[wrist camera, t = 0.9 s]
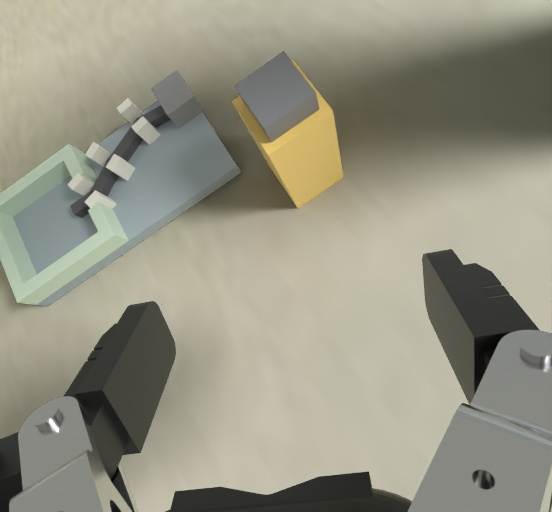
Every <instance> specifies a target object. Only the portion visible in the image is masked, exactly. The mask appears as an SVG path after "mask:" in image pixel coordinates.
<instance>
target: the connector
mask: <svg viewBox="0 0 552 512" xmlns="http://www.w3.org/2000/svg"><path fill="white" fill-rule="evenodd" d="M235 88H236V90H237V91H238V93H239V95H240V96H238V97H237V98H235V99H234V100H232V103H233V105H234V107H235V108H236V110H237V112H238V113H239V115H240V117H241V119H242V120H243V122H244V124H245V125H246V127H247V129H248V131H249V132H250V134H251V136H252V138H253V139H254V141H255V143H256V144H257V146H258V148H259V150H260V151H261V153H262V155H263V156H264V158H265V160H266V162H267V163H268V165H269V167H270V168H271V170H272V171H273V173H274V174H275V176H276V177H277V179H278V180H279V182H280V183H281V185H282V186H283V187H284V189H285V190H286V192H287V193H288V195H289V196H290V198H291V199H292V201H293V202H294V204H295V205H296V207H297V208H299V207H301V206H302V205H304V204H305V203H306V202H308V201H309V200H311V199H312V198H314V197H315V196H317V195H318V194H320V193H321V192H323V191H324V190H326V189H327V188H329V187H330V186H332V185H333V184H335V183H336V182H338V181H339V180H341V179H342V178H344V176H343V170H342V164H341V157H340V151H339V145H338V139H337V132H336V126H335V120H334V114H333V110H332V109H331V107H330V106H329V105H328V104H327V102H326V101H325V100H324V98H323V97H322V96H321V95H320V93H319V92H318V91H317V89H316V88H315V87H314V86H313V84H312V83H311V82H310V80H309V79H308V78H307V77H306V75H305V74H304V73H303V71H302V70H301V69H300V68H299V66H298V65H297V64H296V62H295V61H294V60H293V59H289V57H288V56H287V55H286V53H285V52H284V51H283V52H282V53H280V54H279V55H277V56H276V57H275V58H273V59H272V60H270V61H269V62H268V63H266V64H265V65H263V66H262V67H260V68H259V69H258V70H256V71H255V72H253V73H252V74H251V75H249V76H248V77H246V78H245V79H244V80H242V81H241V82H239V83H238V84H237V85H235Z"/></svg>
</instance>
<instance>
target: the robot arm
mask: <svg viewBox="0 0 552 512" xmlns="http://www.w3.org/2000/svg"><path fill="white" fill-rule="evenodd" d="M422 262H423V277H424V291H425V302H426V308H427V312H428V316H429V319H430V321H431V323H432V325H433V328H434V330H435V332H436V334H437V336H438V338H439V340H440V343H441V345H442V347H443V349H444V351H445V353H446V355H447V357H448V360H449V362H450V364H451V366H452V368H453V370H454V372H455V375H456V377H457V379H458V381H459V383H460V385H461V387H462V389H463V392H464V394H465V396H466V398H467V400H468V402H469V404H470V405H467V404H465V403H462V404H461V405H460V406H459V407H458V409H457V410H456V412H455V414H454V416H453V418H452V420H451V423H450V425H449V427H448V429H447V431H446V433H445V435H444V437H443V439H442V441H441V443H440V445H439V447H438V450H437V452H436V454H435V456H434V458H433V460H432V462H431V464H430V466H429V468H428V470H427V472H426V474H425V476H424V479H423V481H422V483H421V485H420V487H419V489H418V491H417V493H416V495H415V497H414V499H413V501H410V500H409V499H406V498H404V497H402V496H399V495H397V494H394V493H391V492H387V491H384V490H379V489H373V488H372V485H371V480H370V475H369V472H361V473H351V474H341V475H332V476H322V477H317V478H314V479H311V480H309V481H306V482H303V483H301V484H298V485H295V486H292V487H290V488H287V489H284V490H282V491H279V492H276V493H273V494H270V495H262V494H256V493H251V492H245V491H240V490H234V489H229V488H223V487H215V488H205V489H195V490H185V491H176V492H175V494H174V498H173V502H172V506H171V509H170V510H168V511H166V512H552V333H548V332H544V331H540V330H539V329H538V328H537V326H536V325H535V324H534V323H533V322H532V320H531V319H530V318H529V317H528V315H527V314H526V313H525V312H524V311H523V309H522V308H521V307H520V306H519V304H518V303H517V302H516V301H515V300H514V298H513V297H512V296H510V295H509V292H508V291H507V290H506V289H505V287H504V286H502V285H501V283H500V281H499V280H498V279H497V278H496V276H495V275H494V274H493V273H492V272H491V271H489V270H487V269H485V268H484V267H482V266H480V265H478V264H476V263H473V264H468V265H463V264H462V262H461V261H460V260H459V258H458V257H457V255H456V254H455V253H454V251H453V250H452V249H449V250H443V251H438V252H432V253H426V254H423V258H422ZM175 355H176V348H175V342H174V339H173V337H172V335H171V332H170V330H169V328H168V326H167V324H166V321H165V319H164V317H163V315H162V313H161V310H160V308H159V306H158V305H157V303H155V302H154V301H151V302H145V303H140V304H134V305H130V306H128V307H127V308H126V310H125V312H124V313H123V315H122V317H121V318H120V320H119V322H118V323H117V324H114V325H113V326H112V327H111V328H110V329H109V330H108V331H107V332H106V333H105V334H104V335H103V336H102V337H101V338H100V340H99V342H98V343H97V345H96V346H95V348H94V351H92V353H91V354H90V356H89V357H88V361H87V362H85V364H84V365H83V367H82V368H81V370H80V372H79V373H78V375H77V376H76V378H75V379H74V381H73V383H72V384H71V386H70V387H69V389H68V390H67V392H66V394H65V395H64V397H59V398H56V399H53V400H51V401H49V402H47V403H45V404H43V405H42V406H40V407H39V408H38V409H36V410H35V411H34V412H33V413H32V414H31V415H30V416H29V417H28V418H27V419H26V420H25V421H24V423H23V424H22V426H21V428H20V430H19V432H18V433H15V434H12V435H10V436H7V437H5V438H2V439H0V512H139V511H138V509H137V506H136V503H135V501H134V498H133V495H132V493H131V490H130V487H129V485H128V482H127V479H126V477H125V474H124V472H123V470H122V468H121V466H120V465H119V462H120V460H121V457H122V455H126V454H135V453H141V450H142V447H143V444H144V442H145V439H146V436H147V434H148V431H149V428H150V425H151V423H152V420H153V417H154V414H155V412H156V409H157V406H158V404H159V401H160V398H161V395H162V393H163V390H164V387H165V384H166V382H167V379H168V376H169V374H170V371H171V368H172V365H173V363H174V360H175Z"/></svg>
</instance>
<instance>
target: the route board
mask: <svg viewBox="0 0 552 512" xmlns="http://www.w3.org/2000/svg"><path fill="white" fill-rule="evenodd" d="M151 90H152V91H153V93H154V94H155V96H156V98H157V99H158V101H157V102H155V103H154V104H152V105H151V106H150V107H148V108H147V109H145V110H144V111H143V112H141V111H140V110H139V109H138V108H137V107H136V106H135V105H134V104H133V103H132V102H131V101H130V100H129V99H128V98H127V99H126V100H125V101H124V102H123V103H122V104H120V105H119V106H118V107H117V108H116V109H117V110H118V111H119V112H120V114H121V115H122V116H124V117H125V118H126V119H127V120H128V121H129V122H127V123H126V124H125V125H123V126H122V127H120V128H119V129H118V130H116V131H115V132H114V133H112V134H111V135H109V136H108V137H107V138H105V139H104V140H102V141H101V142H100V143H98V144H97V143H95V142H93V143H92V144H91V146H90V148H89V149H88V151H87V152H86V153H83V152H81V151H80V150H78V149H77V148H75V147H74V146H72V145H71V144H67V145H66V146H65V147H63V148H62V149H61V150H59V151H58V152H56V153H55V154H54V155H52V156H51V157H50V158H48V159H47V160H45V161H44V162H43V163H41V164H40V165H39V166H37V167H36V168H34V169H33V170H32V171H30V172H29V173H28V174H26V175H25V176H23V177H22V178H21V179H19V180H18V181H16V182H15V183H14V184H12V185H11V186H10V187H8V188H7V189H5V190H4V191H3V192H1V193H0V260H1V263H2V265H3V268H4V270H5V273H6V275H7V278H8V281H9V283H10V286H11V288H12V291H13V293H14V296H15V298H16V301H17V303H24V304H34V305H44V306H49V305H50V304H52V303H53V302H55V301H56V300H57V299H59V298H60V297H62V296H63V295H65V294H66V293H68V292H69V291H70V290H72V289H73V288H75V287H76V286H78V285H79V284H81V283H82V282H84V281H85V280H86V279H88V278H89V277H91V276H92V275H94V274H95V273H97V272H98V271H100V270H101V269H102V268H104V267H105V266H107V265H108V264H110V263H111V262H113V261H114V260H115V259H117V258H118V257H120V256H121V255H123V254H124V253H126V252H127V251H129V250H130V249H131V248H133V247H134V246H136V245H137V244H139V243H140V242H142V241H143V240H144V239H146V238H147V237H149V236H150V235H152V234H153V233H155V232H156V231H158V230H159V229H160V228H162V227H163V226H165V225H166V224H168V223H169V222H171V221H172V220H173V219H175V218H176V217H178V216H179V215H181V214H182V213H184V212H185V211H187V210H188V209H189V208H191V207H192V206H194V205H195V204H197V203H198V202H200V201H201V200H202V199H204V198H205V197H207V196H208V195H210V194H211V193H213V192H214V191H216V190H217V189H218V188H220V187H221V186H223V185H224V184H226V183H227V182H229V181H230V180H232V179H233V178H234V177H236V176H237V175H239V174H240V173H242V172H241V170H240V169H239V167H238V166H237V164H236V163H235V161H234V160H233V158H232V157H231V155H230V153H229V152H228V150H227V149H226V147H225V146H224V144H223V143H222V141H221V140H220V138H219V136H218V135H217V133H216V132H215V130H214V129H213V127H212V126H211V124H210V123H209V121H208V120H207V118H206V116H205V115H204V113H203V112H204V110H203V108H202V107H201V105H200V104H199V102H198V101H197V99H196V97H195V96H194V94H193V93H192V91H191V90H190V88H189V87H188V85H187V84H186V82H185V81H184V80H183V78H182V77H181V76H180V74H179V73H178V71H175V72H174V73H173V74H171V75H170V76H168V77H167V78H166V79H164V80H163V81H162V82H160V83H159V84H157V85H156V86H155V87H153V88H152V89H151Z"/></svg>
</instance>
